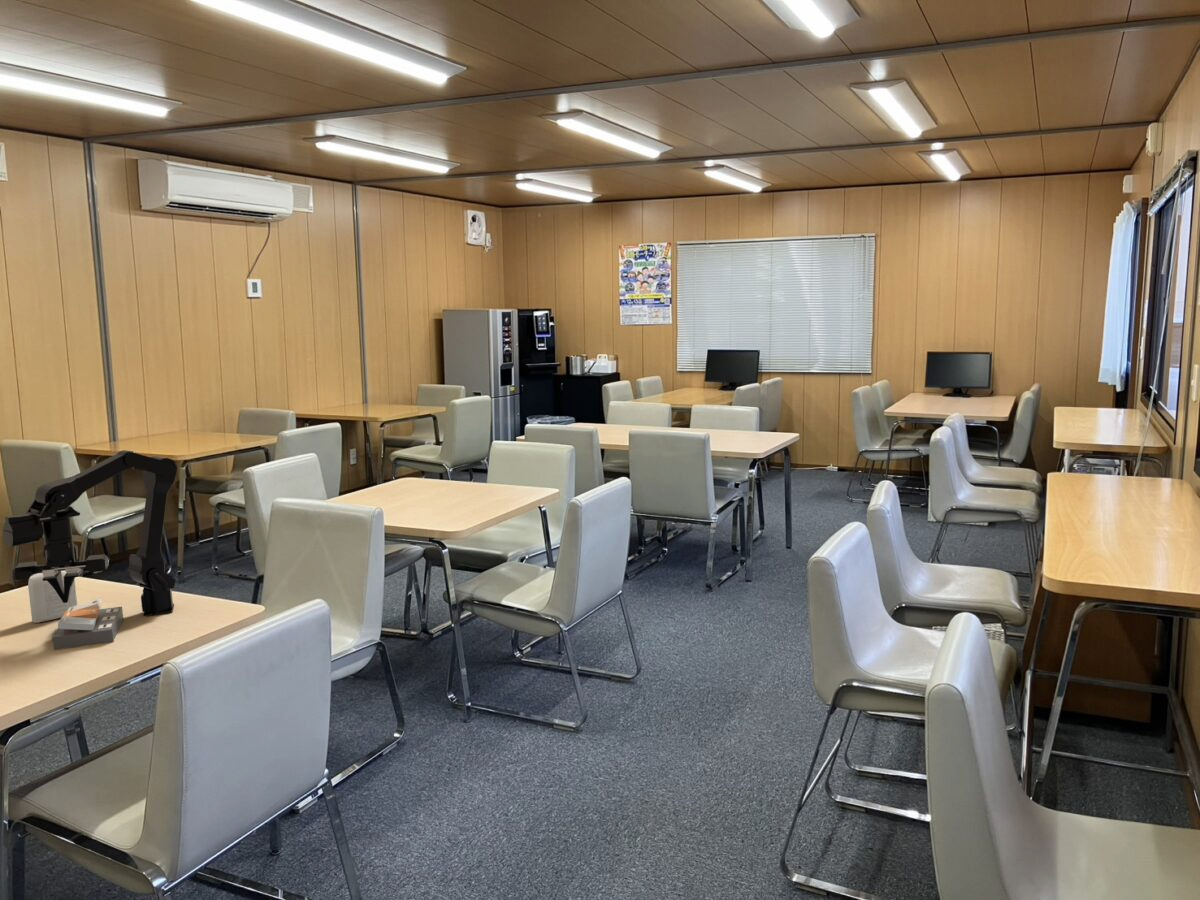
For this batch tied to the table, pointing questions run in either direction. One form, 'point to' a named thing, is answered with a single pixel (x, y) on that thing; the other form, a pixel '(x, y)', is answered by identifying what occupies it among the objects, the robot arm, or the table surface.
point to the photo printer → (48, 599)
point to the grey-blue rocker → (77, 623)
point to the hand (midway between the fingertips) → (65, 602)
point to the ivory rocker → (87, 605)
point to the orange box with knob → (83, 613)
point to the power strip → (91, 631)
